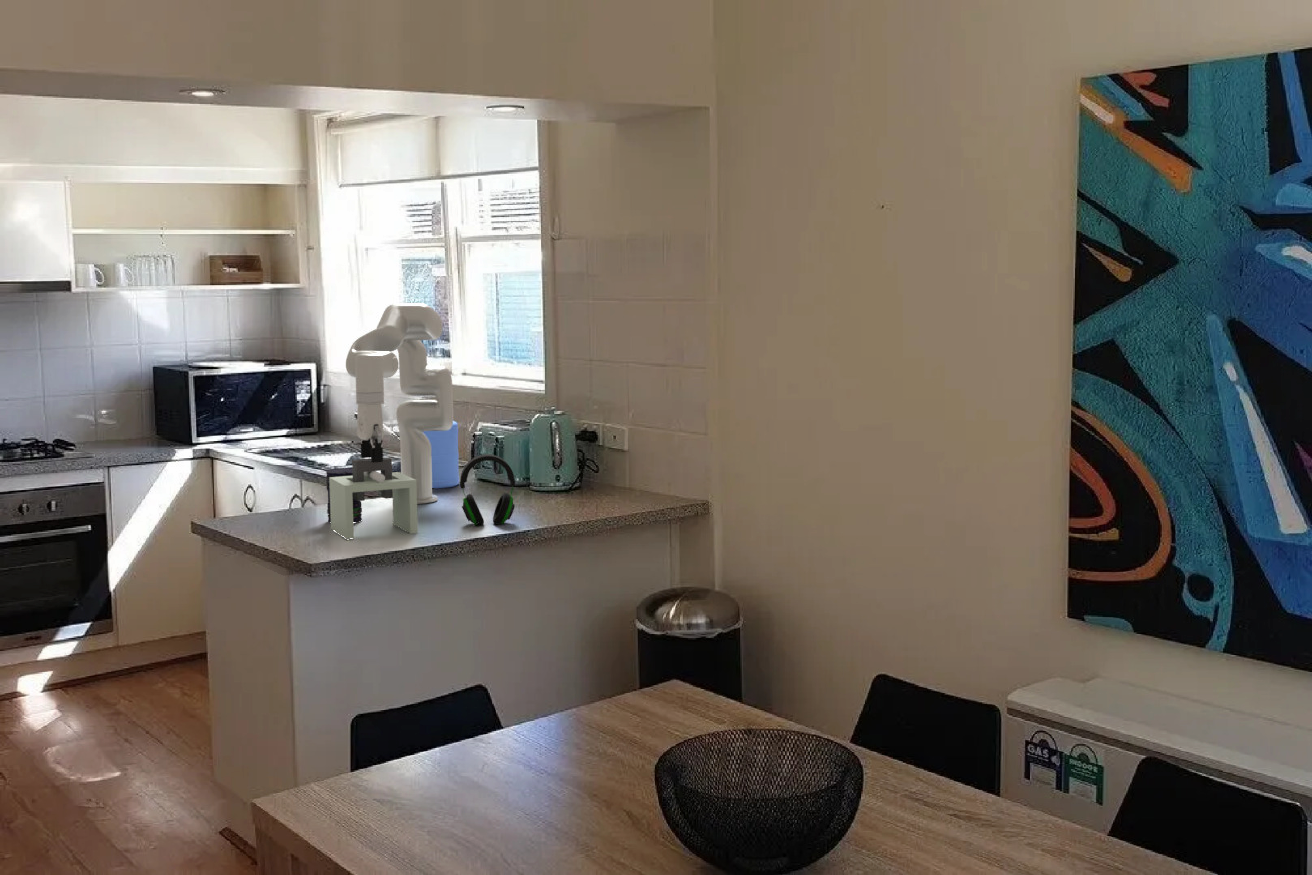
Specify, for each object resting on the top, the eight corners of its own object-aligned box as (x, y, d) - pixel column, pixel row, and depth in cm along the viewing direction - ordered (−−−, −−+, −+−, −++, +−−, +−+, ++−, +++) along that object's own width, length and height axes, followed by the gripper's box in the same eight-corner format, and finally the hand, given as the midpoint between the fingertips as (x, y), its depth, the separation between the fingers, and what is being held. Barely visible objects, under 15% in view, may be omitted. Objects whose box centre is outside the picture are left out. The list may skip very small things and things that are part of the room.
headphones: (517, 526, 399) (516, 456, 396) (462, 528, 395) (460, 458, 393) (513, 520, 408) (512, 452, 405) (459, 522, 405) (458, 453, 402)
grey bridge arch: (353, 498, 389) (352, 459, 388) (388, 495, 394) (387, 457, 393) (357, 501, 386) (356, 461, 384) (392, 498, 391) (391, 459, 389)
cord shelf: (331, 530, 394) (328, 468, 391) (400, 523, 403) (398, 463, 400) (346, 540, 380) (344, 476, 377) (417, 533, 389) (416, 471, 386)
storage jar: (324, 519, 409) (323, 469, 407) (358, 517, 413) (356, 466, 411) (331, 525, 400) (329, 474, 398) (365, 522, 404) (363, 471, 402)
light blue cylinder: (468, 483, 471) (467, 401, 468) (437, 490, 458) (435, 405, 454) (433, 479, 480) (431, 398, 476) (402, 486, 466) (399, 402, 463)
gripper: (348, 396, 392) (350, 456, 394) (365, 402, 377) (367, 465, 379) (374, 395, 396) (376, 454, 398) (392, 400, 380) (394, 463, 383)
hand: (371, 459), depth 388 cm, fingers open, 9 cm apart
